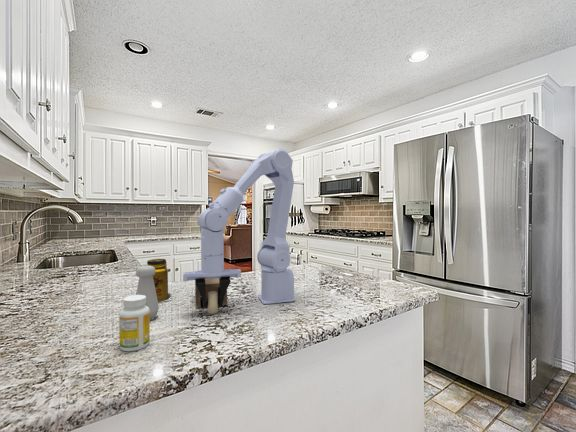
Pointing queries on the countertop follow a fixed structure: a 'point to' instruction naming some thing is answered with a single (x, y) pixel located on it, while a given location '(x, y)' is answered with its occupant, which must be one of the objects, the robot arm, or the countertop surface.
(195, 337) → the countertop surface
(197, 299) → the panel
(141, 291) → the salt shaker
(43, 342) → the countertop surface
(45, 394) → the countertop surface
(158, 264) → the condiment
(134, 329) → the supplement bottle
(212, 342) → the countertop surface
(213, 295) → the cord block
